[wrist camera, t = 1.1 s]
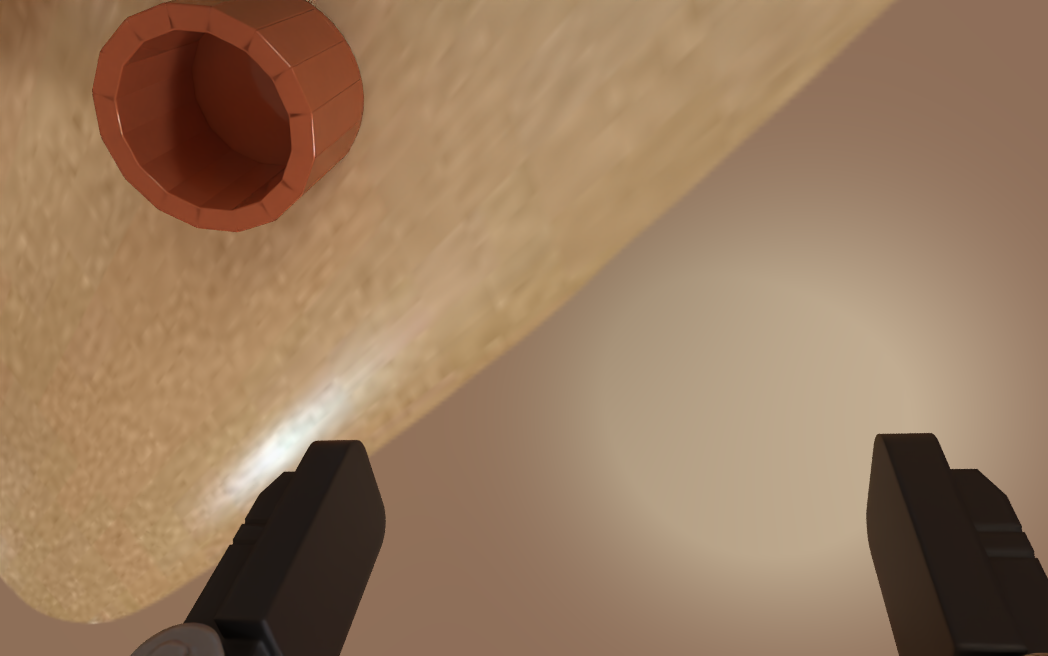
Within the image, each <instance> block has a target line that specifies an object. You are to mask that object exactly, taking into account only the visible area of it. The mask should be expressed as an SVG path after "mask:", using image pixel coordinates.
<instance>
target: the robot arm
mask: <svg viewBox="0 0 1048 656" xmlns="http://www.w3.org/2000/svg"><path fill="white" fill-rule="evenodd" d="M866 519H867V534H868V541H869V547H870V551H871V555H872V559H873V562H874V566H875V570H876V573H877V577H878V580H879V584H880V588H881V591H882V595H883V599H884V602H885V606H886V610H887V613H888V617H889V621H890V624H891V628H892V631H893V635H894V639H895V642H896V646H897V650H898V653H899V656H1048V578H1047V576H1046V574H1045V572H1044V570H1043V568H1042V566H1041V564H1040V562H1039V560H1038V558H1035V556H1034V550H1033V548H1032V546H1031V544H1030V542H1029V540H1028V538H1027V536H1026V534H1025V532H1022V526H1021V524H1020V522H1019V520H1018V518H1017V516H1016V514H1015V512H1014V510H1013V508H1012V506H1011V504H1010V501H1009V499H1008V497H1007V496H1006V495H1005V494H1004V493H1003V492H1002V491H1001V490H1000V489H999V488H998V487H997V486H995V485H994V484H993V483H992V482H991V481H990V480H989V479H988V478H987V477H985V476H984V475H983V474H982V473H981V472H980V471H979V470H978V469H950V467H949V465H948V462H947V460H946V458H945V455H944V453H943V451H942V449H941V446H940V444H939V442H938V440H937V438H936V437H935V435H934V434H932V433H909V434H877V436H876V438H875V441H874V448H873V457H872V466H871V474H870V484H869V492H868V502H867V513H866ZM385 522H386V520H385V509H384V505H383V502H382V498H381V495H380V492H379V490H378V486H377V483H376V480H375V477H374V474H373V471H372V468H371V465H370V462H369V458H368V455H367V452H366V449H365V447H364V445H363V444H362V443H361V442H360V441H359V440H328V441H314V442H313V443H312V444H311V445H310V446H309V448H308V449H307V451H306V453H305V455H304V457H303V458H302V460H301V462H300V464H299V466H298V467H297V469H296V471H295V472H283V473H282V474H281V475H280V476H279V477H278V478H277V479H276V480H275V481H273V482H272V483H271V484H270V485H269V486H268V487H267V488H266V489H265V490H264V491H262V492H261V493H260V494H259V496H258V498H257V499H256V501H255V503H254V505H253V506H252V508H251V510H250V511H249V513H248V515H247V516H246V518H245V524H242V525H241V527H240V528H239V530H238V532H237V533H236V535H235V537H234V538H233V544H232V545H229V547H228V549H227V550H226V552H225V554H224V555H223V557H222V559H221V561H220V562H219V564H218V566H217V567H216V569H215V571H214V572H213V574H212V576H211V577H210V579H209V581H208V583H207V585H206V586H205V588H204V589H203V591H202V593H201V595H200V596H199V598H198V600H197V601H196V603H195V605H194V606H193V608H192V610H191V611H190V613H189V615H188V616H187V618H186V620H185V621H184V623H183V624H179V625H175V626H172V627H169V628H167V629H164V630H162V631H160V632H159V633H157V634H155V635H153V636H152V637H150V638H149V639H148V640H146V641H145V642H144V643H143V644H141V645H140V646H139V647H138V648H137V649H136V650H135V651H134V652H133V653H132V654H131V656H339V655H340V653H341V650H342V647H343V645H344V642H345V640H346V637H347V634H348V631H349V629H350V627H351V624H352V621H353V619H354V616H355V614H356V610H357V608H358V606H359V603H360V600H361V598H362V595H363V593H364V590H365V587H366V585H367V582H368V579H369V577H370V574H371V572H372V569H373V567H374V564H375V561H376V559H377V556H378V554H379V551H380V548H381V546H382V543H383V538H384V533H385Z"/></svg>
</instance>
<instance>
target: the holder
mask: <svg viewBox="0 0 1048 656" xmlns="http://www.w3.org/2000/svg"><path fill="white" fill-rule="evenodd" d="M92 92H93V94H92V95H93V100H94V105H95V110H96V115H97V120H98V125H99V130H100V135H101V136H102V137H101V138H102V140H103V142H104V143H105V145H106V147H107V149H108V150H109V152H110V154H111V156H112V157H113V159H114V161H115V163H116V164H117V166H118V168H119V170H120V171H121V173H122V175H123V176H124V177H125V179H126V180H127V181H128V182H129V183H130V184H131V185H132V186H134V187H135V188H136V189H137V190H138V191H139V192H140V193H141V194H142V195H143V196H144V197H145V198H146V199H147V200H149V201H150V202H151V203H152V204H153V205H154V206H155V207H156V208H157V209H159V210H161V211H163V212H165V213H167V214H169V215H171V216H173V217H175V218H177V219H179V220H181V221H184V222H186V223H188V224H190V225H192V226H194V227H196V228H202V229H212V230H221V231H231V232H238V231H239V232H241V231H244V230H247V229H251V228H254V227H257V226H260V225H264V224H267V223H270V222H273V221H276V220H277V219H278V218H279V217H280V216H281V215H282V214H283V213H284V212H285V211H286V210H287V209H289V208H290V207H291V206H292V205H293V204H294V203H295V202H296V201H297V200H298V199H299V198H300V197H301V196H303V195H304V194H305V193H306V192H307V191H308V190H309V189H310V188H311V187H312V186H313V185H314V184H316V183H317V182H318V181H319V180H320V179H321V178H322V177H323V176H324V175H325V174H326V173H327V172H328V171H329V170H330V169H332V168H333V167H334V166H335V165H336V164H337V163H338V162H339V161H340V160H341V159H342V158H343V157H344V156H345V155H346V154H347V153H348V152H349V150H350V147H351V146H352V144H353V143H354V141H355V138H356V136H357V134H358V131H359V128H360V125H361V121H362V115H363V105H364V95H363V85H362V80H361V76H360V71H359V68H358V65H357V63H356V60H355V57H354V55H353V53H352V51H351V49H350V47H349V45H348V44H347V42H346V40H345V39H344V37H343V36H342V34H341V33H340V32H339V30H338V29H337V28H336V27H335V25H334V24H333V23H332V22H331V21H330V20H329V19H328V18H327V17H326V16H325V15H324V14H323V13H322V12H321V11H319V10H318V9H317V8H315V7H314V6H313V5H312V4H310V3H308V2H307V1H305V0H173V1H168V2H164V3H162V4H159V5H157V6H154V7H152V8H149V9H147V10H144V11H142V12H139V13H137V14H134V15H132V16H129V17H127V19H125V20H124V21H123V23H122V24H121V25H120V26H119V28H118V29H117V30H116V31H115V33H114V34H113V35H112V36H111V38H110V39H109V40H108V41H107V43H106V44H105V45H104V46H103V48H102V50H101V51H100V54H99V59H98V64H97V69H96V74H95V79H94V84H93V89H92Z"/></svg>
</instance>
